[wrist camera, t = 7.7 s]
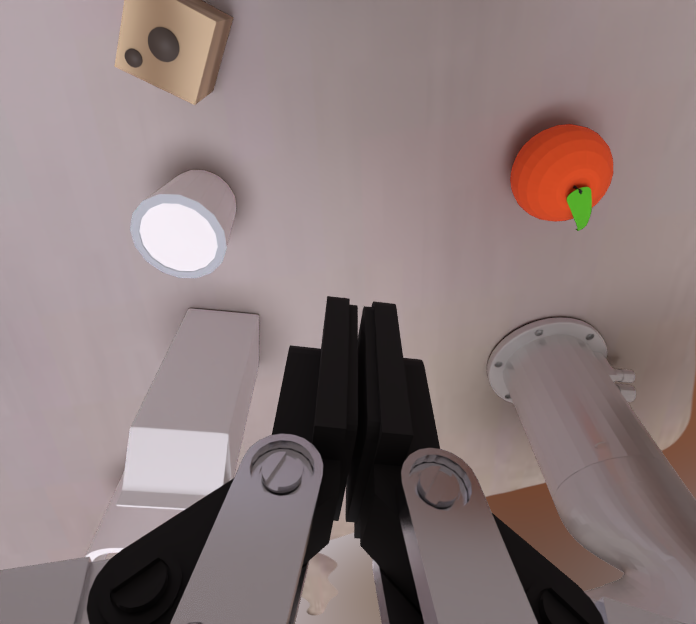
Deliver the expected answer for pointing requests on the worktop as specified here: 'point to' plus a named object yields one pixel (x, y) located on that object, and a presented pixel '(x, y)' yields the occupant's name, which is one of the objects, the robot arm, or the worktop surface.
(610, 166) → the clementine
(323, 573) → the worktop surface
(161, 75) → the oak block
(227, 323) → the milk carton
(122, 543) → the bracket
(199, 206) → the white cylinder with rim
